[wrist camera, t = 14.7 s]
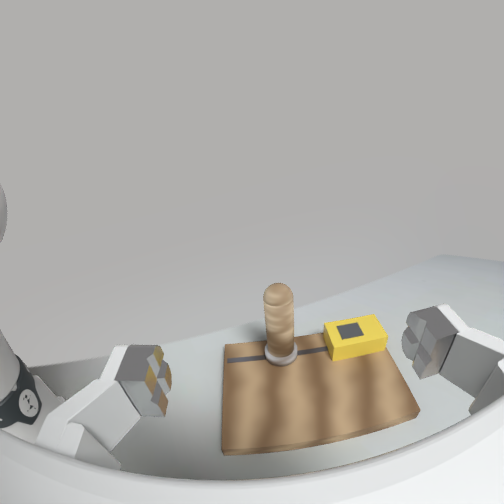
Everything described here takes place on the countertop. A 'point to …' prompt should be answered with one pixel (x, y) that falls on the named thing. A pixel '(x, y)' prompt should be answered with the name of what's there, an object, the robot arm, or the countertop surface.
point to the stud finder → (354, 337)
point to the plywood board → (308, 397)
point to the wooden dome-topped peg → (279, 325)
